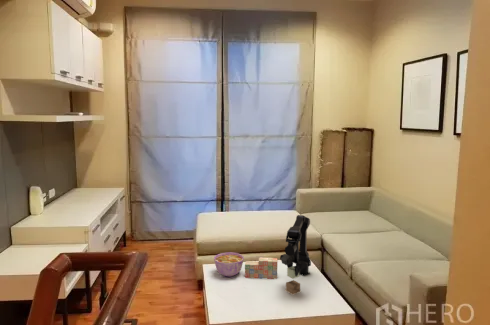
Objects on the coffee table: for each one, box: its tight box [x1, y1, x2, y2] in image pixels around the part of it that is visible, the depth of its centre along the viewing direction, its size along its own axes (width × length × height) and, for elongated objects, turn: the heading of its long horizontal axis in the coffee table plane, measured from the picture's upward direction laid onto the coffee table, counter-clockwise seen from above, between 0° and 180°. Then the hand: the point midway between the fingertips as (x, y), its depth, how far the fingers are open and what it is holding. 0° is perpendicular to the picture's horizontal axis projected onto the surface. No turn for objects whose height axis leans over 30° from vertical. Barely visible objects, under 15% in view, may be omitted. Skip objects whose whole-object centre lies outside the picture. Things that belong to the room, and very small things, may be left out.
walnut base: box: [285, 279, 301, 295], centre depth 230 cm, size 6×6×5 cm
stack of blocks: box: [244, 257, 278, 280], centre depth 252 cm, size 21×6×12 cm, turn 83°
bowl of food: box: [213, 251, 245, 277], centre depth 256 cm, size 20×20×12 cm
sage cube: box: [286, 266, 300, 280], centre depth 229 cm, size 5×5×5 cm
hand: (293, 274), depth 229 cm, fingers closed on sage cube, 5 cm apart
